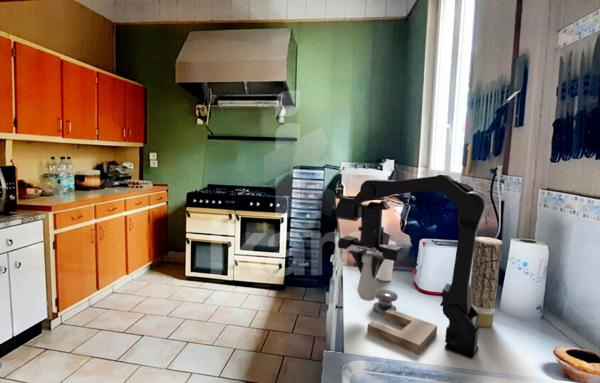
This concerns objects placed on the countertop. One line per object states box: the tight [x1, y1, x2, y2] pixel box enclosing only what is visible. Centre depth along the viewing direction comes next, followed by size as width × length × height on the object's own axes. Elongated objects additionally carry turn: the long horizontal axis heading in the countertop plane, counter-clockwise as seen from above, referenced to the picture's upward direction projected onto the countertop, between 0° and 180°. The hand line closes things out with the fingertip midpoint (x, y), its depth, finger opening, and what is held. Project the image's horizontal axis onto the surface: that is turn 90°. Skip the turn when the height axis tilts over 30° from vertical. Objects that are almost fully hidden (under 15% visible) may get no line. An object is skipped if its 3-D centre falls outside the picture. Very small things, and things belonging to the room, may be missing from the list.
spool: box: [372, 289, 398, 315], centre depth 104 cm, size 7×7×5 cm
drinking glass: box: [376, 239, 397, 282], centre depth 129 cm, size 7×7×15 cm
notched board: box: [366, 309, 438, 356], centre depth 90 cm, size 14×13×2 cm
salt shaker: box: [357, 252, 379, 302], centre depth 97 cm, size 6×6×13 cm
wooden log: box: [469, 236, 503, 328], centre depth 98 cm, size 7×7×25 cm
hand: (368, 276), depth 97 cm, fingers closed on salt shaker, 3 cm apart
